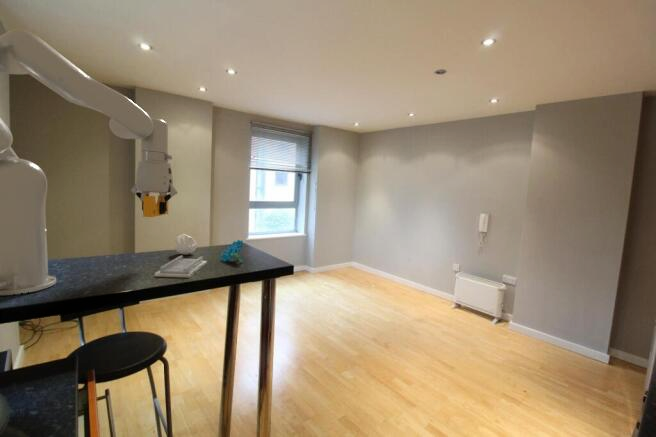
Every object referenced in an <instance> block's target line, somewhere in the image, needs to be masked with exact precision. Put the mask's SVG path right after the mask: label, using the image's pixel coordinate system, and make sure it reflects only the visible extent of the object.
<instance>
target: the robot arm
mask: <svg viewBox="0 0 656 437" xmlns="http://www.w3.org/2000/svg"><path fill="white" fill-rule="evenodd" d="M0 74H2V75H30V76H31V77H32V78H34V79H36V80H37V81H38V82H40V83H41V84H43V86H46V87H47V88H49V89H50V90H52V91H53V92H55V93H56V95H57V94H58V95H59V96H60V97H62V98H63V99H64V100H66V101H68V102H69V103H73V104H75V105H77V106H81V107H84V108H88V109H91V110H94V111H96V112H99V113H101V114H103V115H105V116H107V117H108V118H110V119H109V123H108V126H109V129H110V131H111V132H112V133H113V134H114V135H115V136H116V137H119V138H121V139H126V140H140V146H141V148H140V150H141V152H140V153H141V154H140V159H141V160H139V161H138V165H137V169H136V178H135V184H134V185H133V186H132V187H131V189H130V192H131V193H132V194H135V195H136V197H137V198H139V200H140V202H141V210H142V211H143V196H150V193H152V194H153V193H155V194H157V193H158V195H160V198H161V202H160V203H159V214H165V212H166V211H167V202H168V203H169V200H170V199H172V198H173V197H174V196H176V195H177V194H178V191H177V190H176V188H175V187H174V180H173V170H172V166H171V163H168V162H169V161H171V160H172V159H173V157H172V156H173V155H170V154H169V152H168V150H169V149H168V148H169V146H168V145H169V144H168V142H169V141H168V140H169V127H168V123H167V122H166V121H164V120H163V119H159V118H155V117H154V118H152V117H150V116H149V114H148V113H147V112H146V111H144V110H143V109H142V108H141V107H140V106H138V105H137V104H136V103H134V102H133V101H132V100H131V99H129V98H128V97H127V96H125V95H123V94H122V93H120V92H118V91H117V90H115V89H113V88H112V87H109V86H107V85H106V84H103V83H102V82H100V81H98V80H96V79H94V78H92V77H91V76H89V75H88V74H87V73H85V72H84V71H82V69H80V68H79V67H77V66H76V64H74V63H73V62H71V61H70V60H68V58H66V57H65V56H63V55H62V53H59V51H57V50H56V49H54V47H52V46H51V45H49V44H48V43H47V42H46V41H44V40H43V39H42V38H40V37H39V36H38V35H36V34H34V33H33V32H30V31H28V30H24V29H11V30H8V31H6V32H4V33H3V34H0ZM13 142H14V138H13V134H12V132H11V130H10V128H9V127H8V125H7V124H6V123H5V121H3V119H2V118H1V117H0V296H14V294H15V295H21V293H23V294H29V293H34V292H38V291H42V290H45V289H48V288H50V287H53V286H54V285H55V284H57V277H56V276H53V275H50V274H49V266H48V265H49V263H48V242H47V241H48V239H47V235H48V234H47V219H46V207H47V206H46V203H47V195H48V186H49V185H48V179H47V175H46V173H45V172H44V171H43V169H42V168H41V166H39V165H38V164H36V163H34V162H32V161H30V160H27V159H24V158H19V156H18V155H17V154H16V152H15V151H14V150H13V148H12V147H11V146H12V144H13ZM165 215H166V214H165ZM28 292H29V293H28Z"/></svg>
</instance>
